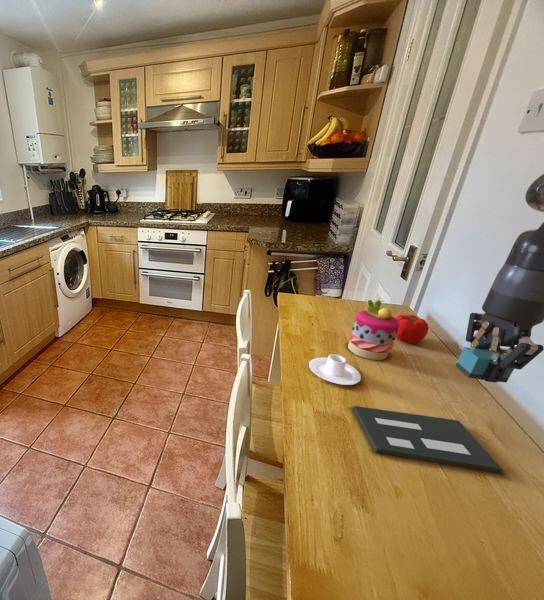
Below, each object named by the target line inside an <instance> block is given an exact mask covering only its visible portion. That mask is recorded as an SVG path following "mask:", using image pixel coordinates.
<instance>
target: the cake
mask: <svg viewBox="0 0 544 600" xmlns="http://www.w3.org/2000/svg"><path fill="white" fill-rule="evenodd" d="M365 305H366V307H365V310H361V311H358V312H357V313H356V314H355V318H354V325H353V326H352V328H351V333H349V334H348V335H349V336H350V338H349V342H348V344H347V347H348V350H349V351H350V352H352V353H353V354H355V355H357V356H359V357H362V358H365V359H368V360H372V361H373V360H374V361H383V360H385V359H387V358H388V355H389V353H390V352H391V350H392V349H393V348H394V347H395V343H394V341H396V337H394V336H395V333H396V334H397V331H398V328H399V325H400V323H399V321H398V320H397V319H396V317H394V316H393V314H392V310H391V309H389V308H386V307H383V308H381V305H382V302H381V300H380V299H376V300H374V302H373V301H372V300H371V299H367V300H366V301H365Z"/></svg>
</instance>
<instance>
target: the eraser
mask: <svg viewBox="0 0 544 600" xmlns="http://www.w3.org/2000/svg"><path fill="white" fill-rule="evenodd" d="M492 354H493V352H492V351H491V350H490V349H489V350H485V349H476V348H471V347H463V349H462V350H461V353H460V355H459V357H458V359H457V362H456V364H455V367H456V368H457V369H458V370H459V371H460V372H461V373H463V375H464V376H465V377H467V378H468V379H473V380H474V379H475V380H483V381H485V380H484V379H482V376H483V374H484V372H485V370H486V368H487V366H488V364H489V362H490V363H491V358H492ZM505 355H506V354H504V353H503V354H502V355H501V359H504V358H505ZM514 362H516V361H514ZM514 370H515V369H512V368H507V369H506V371H505V373H504V375H503V377H502V379H501V380H500V381H499V382H498V383H505V384H507V383H508V381H509V379H510V377H511V375H512V373H513V372H514Z"/></svg>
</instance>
